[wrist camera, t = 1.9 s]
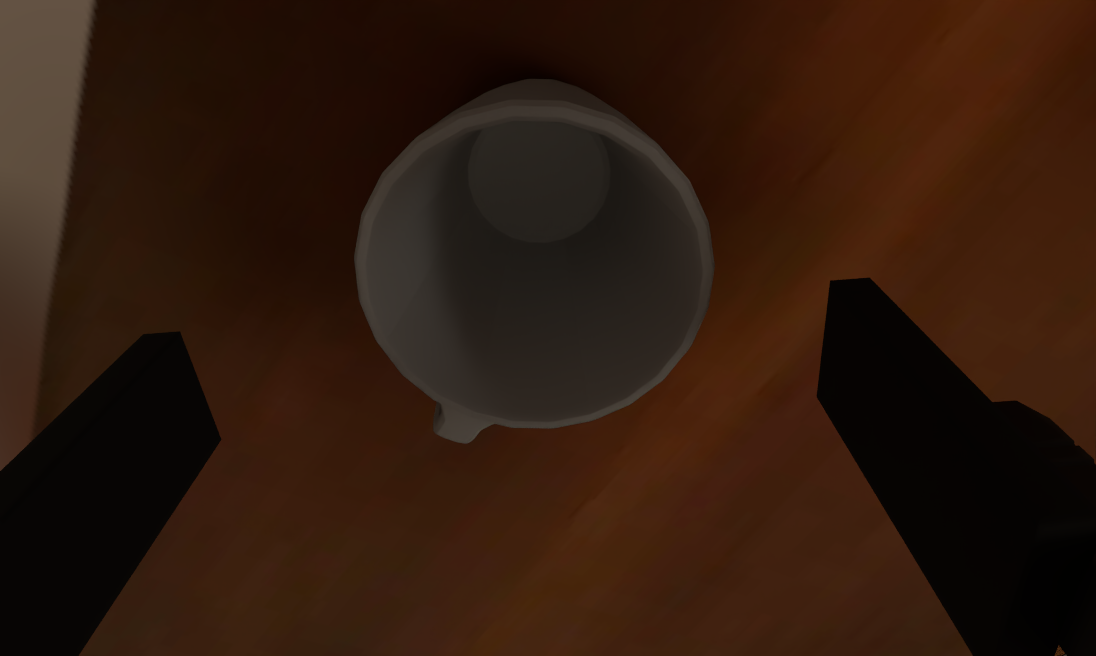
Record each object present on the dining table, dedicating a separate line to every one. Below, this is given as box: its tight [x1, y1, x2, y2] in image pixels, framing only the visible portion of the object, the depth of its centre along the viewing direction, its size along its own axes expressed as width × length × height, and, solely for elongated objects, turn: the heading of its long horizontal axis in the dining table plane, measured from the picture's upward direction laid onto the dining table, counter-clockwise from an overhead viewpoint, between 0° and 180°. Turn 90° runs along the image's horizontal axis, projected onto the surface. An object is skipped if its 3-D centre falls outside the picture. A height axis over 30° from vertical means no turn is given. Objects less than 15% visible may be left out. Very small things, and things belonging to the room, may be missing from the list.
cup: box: [354, 79, 715, 443], centre depth 19 cm, size 8×10×8 cm
